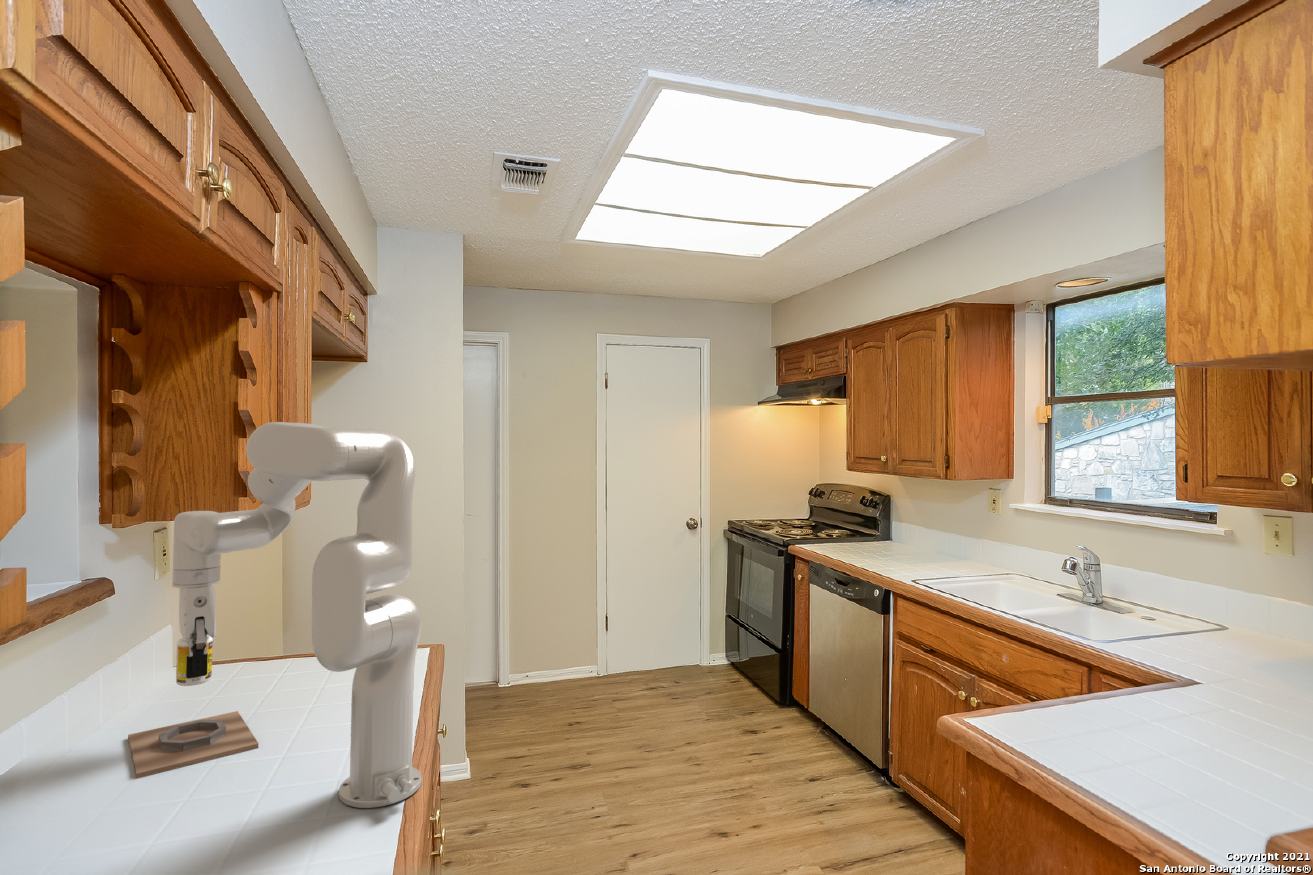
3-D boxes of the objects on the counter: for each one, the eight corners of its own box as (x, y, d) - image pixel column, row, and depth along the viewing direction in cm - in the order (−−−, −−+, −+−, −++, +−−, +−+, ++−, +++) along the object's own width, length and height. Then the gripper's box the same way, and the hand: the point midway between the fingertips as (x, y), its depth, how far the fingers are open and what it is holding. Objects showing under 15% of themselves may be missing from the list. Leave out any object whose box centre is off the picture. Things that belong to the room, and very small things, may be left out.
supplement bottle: (213, 682, 126) (214, 628, 126) (177, 689, 122) (178, 633, 122) (209, 674, 130) (211, 622, 130) (174, 680, 126) (176, 626, 127)
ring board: (258, 747, 124) (258, 735, 124) (136, 778, 112) (136, 764, 112) (237, 714, 139) (237, 703, 139) (127, 738, 127) (128, 726, 127)
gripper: (228, 581, 122) (225, 680, 122) (212, 567, 135) (210, 657, 135) (178, 586, 117) (175, 689, 117) (167, 572, 130) (164, 664, 130)
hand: (194, 671), depth 126 cm, fingers closed on supplement bottle, 5 cm apart
